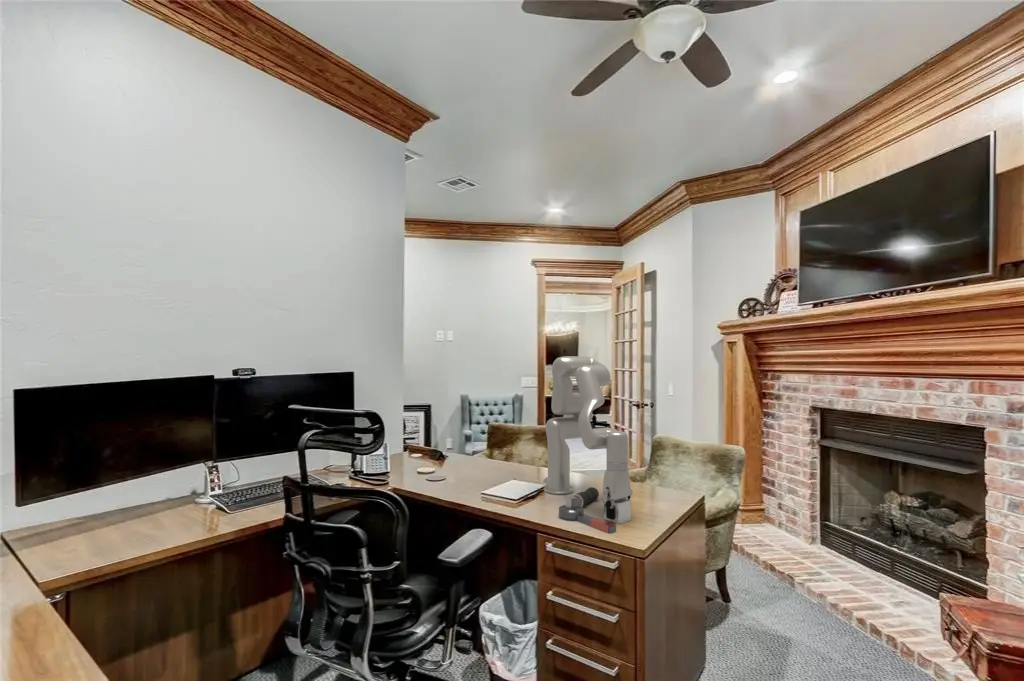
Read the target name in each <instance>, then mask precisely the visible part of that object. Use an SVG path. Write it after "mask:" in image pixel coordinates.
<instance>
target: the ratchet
mask: <svg viewBox="0 0 1024 681" xmlns="http://www.w3.org/2000/svg"><path fill="white" fill-rule="evenodd" d="M564 501H565V503H564V505H560V506H559V507H558V518H559V519H561V520H563V521H568V522H577V523H580V524H584V525H586V526H589V527H591V528H593V529H596V530H599V531H601V532H603V533H606V534H613V533H616V532H617V524H616V523H614V522H611V521H608V520H605V519H604V518H601V517H594V516H590V515H587V514H586V513H585V508H584V507H580V506H577V497H573V495H569V496H566V497H565V499H564Z"/></svg>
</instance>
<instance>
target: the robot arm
mask: <svg viewBox="0 0 1024 681" xmlns="http://www.w3.org/2000/svg"><path fill="white" fill-rule="evenodd" d="M551 375H552V391H551V392H552V394H551V405H550V406H551V412H552V413H553V414H554V415H557V416H559V417H551V418H549V419H548V420H547V421H546V423H545V435H546V438H547V439H546V441H547V442H546V443H547V477H545V479H543V480H542V482H543V483H545V486H544V487H543V490H544V492H545V493H547V494H551V495H568V494H571V493H573V492H574V487H573V486H571V485H570V484H571V482H570V479H571V477H570V476H571V475H570V474H571V473H570V471H571V469H570V467H571V466H570V463H571V461H570V460H571V459H570V456H571V451H570V447H569V445H568V444H567V442H566V440H568V439H569V440H571V439H573V440H574V439H579V438H581V441H582V444H583V445H584V447H585V448H587V449H588V450H602V449H603V450H604V449H606V469H605V471H604V475H603V483H602V496H601V497H600V500H601V501H602V502H603V505H604V504H605V507H606V517H607V518H608V519H611V520H614V508H613V506H614V502H615V500H618V499H622V498H624V499H627V500H630V499H631V496H632V495H633V490H632V489H631V479H630V473H629V436H628V434H627V432H625V431H622V430H618V429H616V428H614V427H598V428H596V427H595V428H592V424H591V413H592V411H595V410H596V409H598V408H600V407H601V406H603V405H604V403H605V397H604V394H603V391H602V388H601V387H606V386H608V385H609V384H610V383H611V373H610V371H609V369H608V367H607V366H605V364H603V363H601V362H600V361H598V359H597V360H596V358H593V357H591V356H576V355H575V356H574V355H573V356H568V355H567V356H564V355H563V356H560V357H557V358H556V359H555V360H554V361H553V363H552V367H551ZM571 377H575V382H576V385H577V388H578V392H573V390H574V389H573V387H574V384H573V383H574V382H573V380H572V378H571ZM569 415H570V416H569ZM610 500H611V504H610V502H609V501H610Z"/></svg>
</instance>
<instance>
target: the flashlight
mask: <svg viewBox="0 0 1024 681" xmlns="http://www.w3.org/2000/svg"><path fill="white" fill-rule="evenodd" d="M599 493H600V492H599V490H598V489H597V488H596V487H592V486H591V487H588V488H587V489H586V490H584V491H580V492H577V493H574V494H573V495H572V496H573V497H577V506H580V507H582V508H584V507H585V506H586V505H588V504H589V503H590V502H595V501H596V500H598V498H599V496H600V494H599Z"/></svg>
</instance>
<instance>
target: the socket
mask: <svg viewBox="0 0 1024 681" xmlns="http://www.w3.org/2000/svg"><path fill="white" fill-rule="evenodd" d="M609 502H610V504H611V500H610V501H609ZM631 503H632V502H631V500H627V499H624V498H622V499H618V500H615V502H614V506H613V508H614V520H611V519H608V518H607V517H606V507H605V504H604V503H603V519H604V520H606V521H609V522H612V523H615V525H621V524H623V523H626V522H629V521H631V518H632V517H631V516H632V515H631V514H632V513H631V510H632V507H631Z"/></svg>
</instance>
